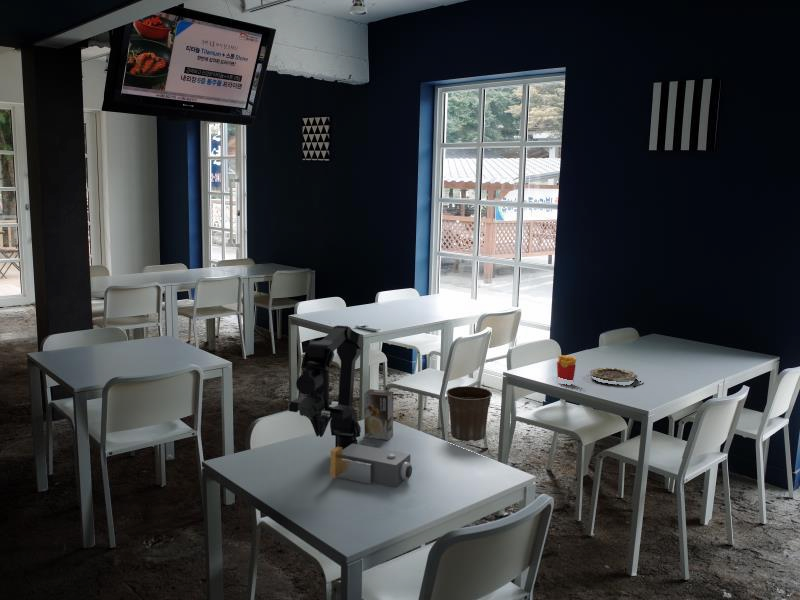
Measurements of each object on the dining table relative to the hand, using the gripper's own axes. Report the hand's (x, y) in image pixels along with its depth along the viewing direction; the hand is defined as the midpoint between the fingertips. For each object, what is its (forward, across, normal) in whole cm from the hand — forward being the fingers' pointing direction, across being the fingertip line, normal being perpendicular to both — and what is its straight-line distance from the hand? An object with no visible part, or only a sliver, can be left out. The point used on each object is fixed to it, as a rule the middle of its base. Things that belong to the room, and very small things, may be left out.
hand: (319, 436), depth 212 cm
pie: (+14, +59, +164) cm, 175 cm away
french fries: (+13, +41, +147) cm, 153 cm away
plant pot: (+13, +26, +57) cm, 64 cm away
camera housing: (+13, +15, +9) cm, 21 cm away
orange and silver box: (+13, +10, +1) cm, 16 cm away
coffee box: (+13, -2, +42) cm, 44 cm away
